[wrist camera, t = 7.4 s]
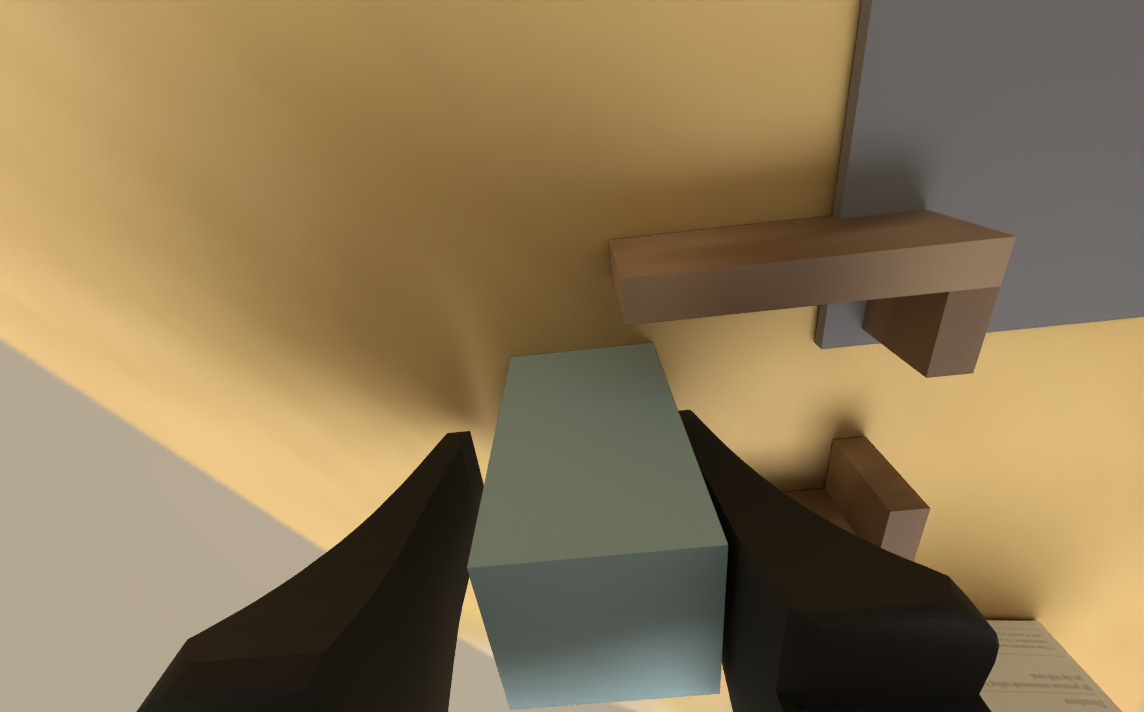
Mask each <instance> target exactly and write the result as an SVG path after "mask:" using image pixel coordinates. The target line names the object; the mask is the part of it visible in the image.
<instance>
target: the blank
mask: <svg viewBox="0 0 1144 712" xmlns="http://www.w3.org/2000/svg"><path fill="white" fill-rule="evenodd" d="M727 557H728V543H727V540H726V538H725V535H724V532H723V530H722V527H721V524H720V522H719V519H718V516H717V514H716V511H715V508H714V506H713V503H712V500H711V498H710V495H709V492H708V489H707V487H706V484H705V481H704V479H703V476H702V473H701V471H700V468H699V465H698V463H697V460H696V457H695V455H694V452H693V449H692V447H691V444H690V441H689V438H688V436H687V433H686V430H685V428H684V425H683V422H682V420H681V417H680V414H679V412H678V409H677V406H676V404H675V401H674V398H673V395H672V393H671V390H670V387H669V385H668V382H667V379H666V377H665V374H664V371H663V369H662V366H661V363H660V361H659V358H658V355H657V353H656V350H655V347H654V344H653V343H643V344H634V345H624V346H614V347H605V348H595V349H585V350H576V351H566V352H556V353H547V354H537V355H527V356H518V357H511V358H510V363H509V368H508V372H507V377H506V382H505V387H504V392H503V397H502V401H501V406H500V411H499V416H498V421H497V425H496V430H495V435H494V440H493V445H492V450H491V454H490V459H489V464H488V469H487V474H486V479H485V483H484V488H483V493H482V498H481V503H480V508H479V512H478V517H477V522H476V527H475V532H474V536H473V541H472V546H471V551H470V556H469V561H468V565H467V570H468V573H469V576H470V580H471V583H472V586H473V590H474V593H475V596H476V599H477V603H478V606H479V609H480V613H481V616H482V619H483V622H484V626H485V629H486V632H487V635H488V639H489V642H490V645H491V649H492V652H493V655H494V658H495V662H496V665H497V668H498V672H499V675H500V678H501V681H502V685H503V688H504V691H505V695H506V698H507V701H508V704H509V708H510V710H515V709H529V708H542V707H554V706H566V705H580V704H592V703H606V702H619V701H632V700H645V699H658V698H670V697H683V696H696V695H709V694H720V680H721V663H722V645H723V627H724V610H725V592H726V574H727Z"/></svg>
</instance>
